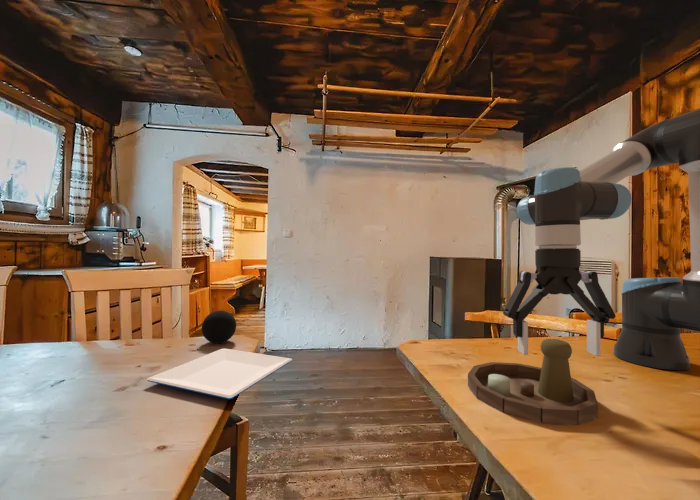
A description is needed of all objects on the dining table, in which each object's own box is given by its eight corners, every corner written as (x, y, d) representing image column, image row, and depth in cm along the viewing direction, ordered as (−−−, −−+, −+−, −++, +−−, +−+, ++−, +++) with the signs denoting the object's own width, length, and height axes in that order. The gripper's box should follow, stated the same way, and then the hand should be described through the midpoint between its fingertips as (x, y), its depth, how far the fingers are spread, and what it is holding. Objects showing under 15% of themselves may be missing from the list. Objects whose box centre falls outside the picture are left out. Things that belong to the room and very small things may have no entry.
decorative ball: (197, 348, 90) (197, 314, 90) (206, 338, 100) (206, 308, 100) (233, 346, 92) (233, 313, 92) (238, 337, 102) (238, 307, 102)
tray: (551, 378, 72) (552, 364, 72) (631, 434, 50) (631, 413, 50) (456, 374, 73) (456, 360, 74) (492, 427, 52) (492, 406, 52)
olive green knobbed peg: (580, 404, 58) (581, 345, 58) (544, 400, 59) (545, 343, 59) (565, 390, 64) (565, 337, 64) (533, 387, 65) (533, 335, 65)
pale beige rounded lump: (504, 388, 64) (504, 374, 64) (513, 397, 60) (513, 382, 60) (485, 387, 64) (485, 373, 64) (492, 396, 60) (492, 381, 60)
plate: (145, 388, 65) (145, 378, 65) (223, 354, 86) (223, 347, 86) (230, 408, 57) (230, 397, 57) (293, 366, 78) (293, 358, 78)
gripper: (608, 247, 64) (609, 348, 64) (486, 248, 66) (486, 346, 66) (639, 246, 57) (640, 361, 57) (500, 247, 59) (501, 358, 59)
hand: (557, 353), depth 62 cm, fingers open, 13 cm apart
